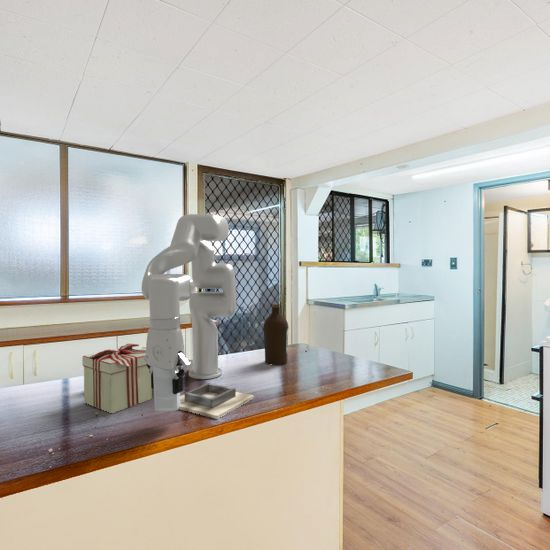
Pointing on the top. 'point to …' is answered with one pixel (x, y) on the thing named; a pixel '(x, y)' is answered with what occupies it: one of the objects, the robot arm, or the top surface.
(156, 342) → the robot arm
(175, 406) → the skincare box
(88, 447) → the top surface
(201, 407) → the holder board
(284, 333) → the olive oil
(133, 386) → the gift box
